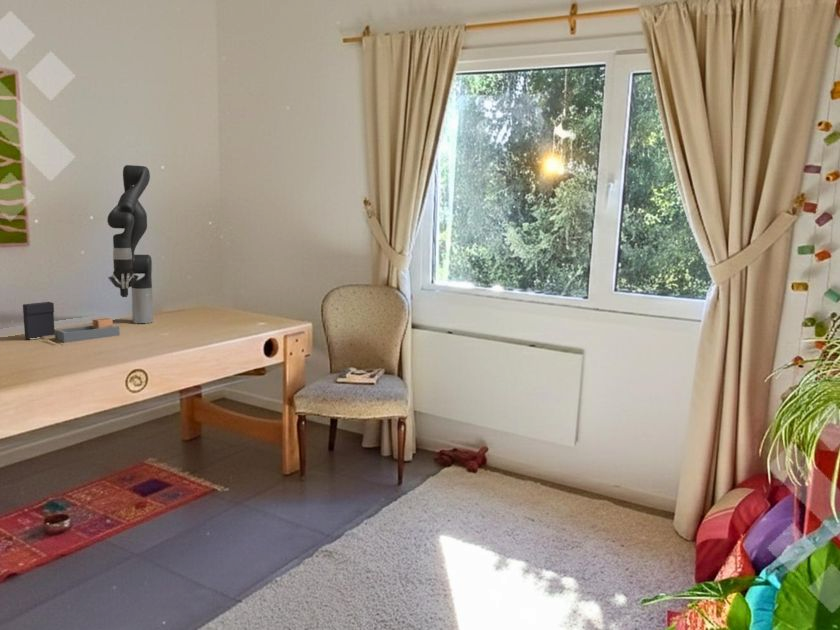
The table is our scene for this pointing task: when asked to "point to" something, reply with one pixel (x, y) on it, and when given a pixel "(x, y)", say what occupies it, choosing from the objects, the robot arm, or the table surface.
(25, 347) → the table surface
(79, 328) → the chute
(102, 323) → the block
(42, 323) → the dark grey upright box
